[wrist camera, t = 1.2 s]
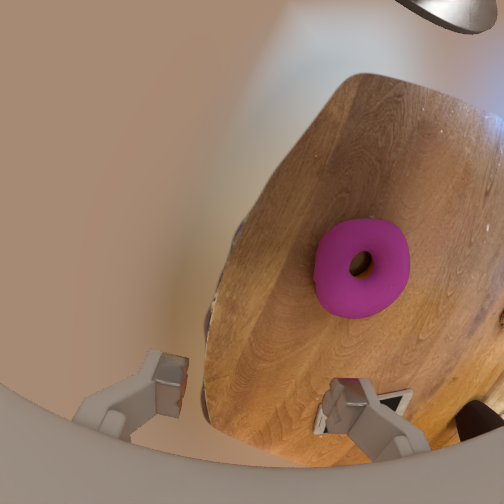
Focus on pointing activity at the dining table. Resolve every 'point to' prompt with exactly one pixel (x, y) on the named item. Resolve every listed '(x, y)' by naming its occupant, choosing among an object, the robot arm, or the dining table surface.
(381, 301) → the donut
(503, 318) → the letter pile
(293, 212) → the dining table surface
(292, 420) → the dining table surface
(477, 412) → the cup
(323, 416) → the smartphone
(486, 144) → the dining table surface
